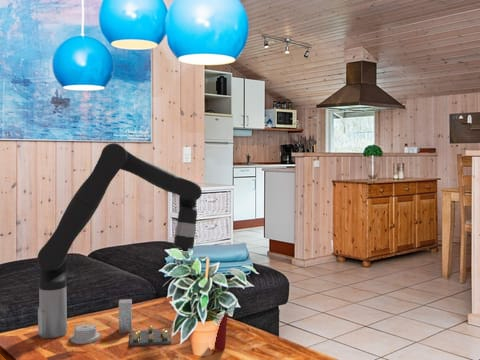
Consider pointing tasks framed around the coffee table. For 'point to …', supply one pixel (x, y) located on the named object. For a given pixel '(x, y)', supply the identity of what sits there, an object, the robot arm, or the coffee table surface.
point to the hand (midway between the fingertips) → (179, 278)
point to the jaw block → (125, 316)
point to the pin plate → (145, 338)
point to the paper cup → (221, 334)
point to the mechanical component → (85, 334)
